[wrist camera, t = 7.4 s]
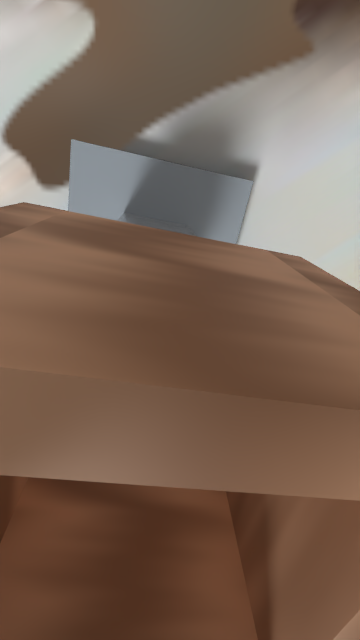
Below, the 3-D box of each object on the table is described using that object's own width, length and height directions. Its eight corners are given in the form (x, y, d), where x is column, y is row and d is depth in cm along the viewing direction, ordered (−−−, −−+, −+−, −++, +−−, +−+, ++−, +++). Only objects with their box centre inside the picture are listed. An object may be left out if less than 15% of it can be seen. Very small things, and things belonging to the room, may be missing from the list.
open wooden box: (27, 425, 14) (-138, 744, 6) (23, 202, 10) (-473, 308, 2) (230, 445, 16) (305, 723, 8) (300, 256, 12) (617, 441, 4)
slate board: (67, 307, 33) (63, 312, 32) (75, 140, 26) (71, 139, 25) (208, 328, 35) (210, 334, 34) (248, 180, 29) (253, 181, 27)
